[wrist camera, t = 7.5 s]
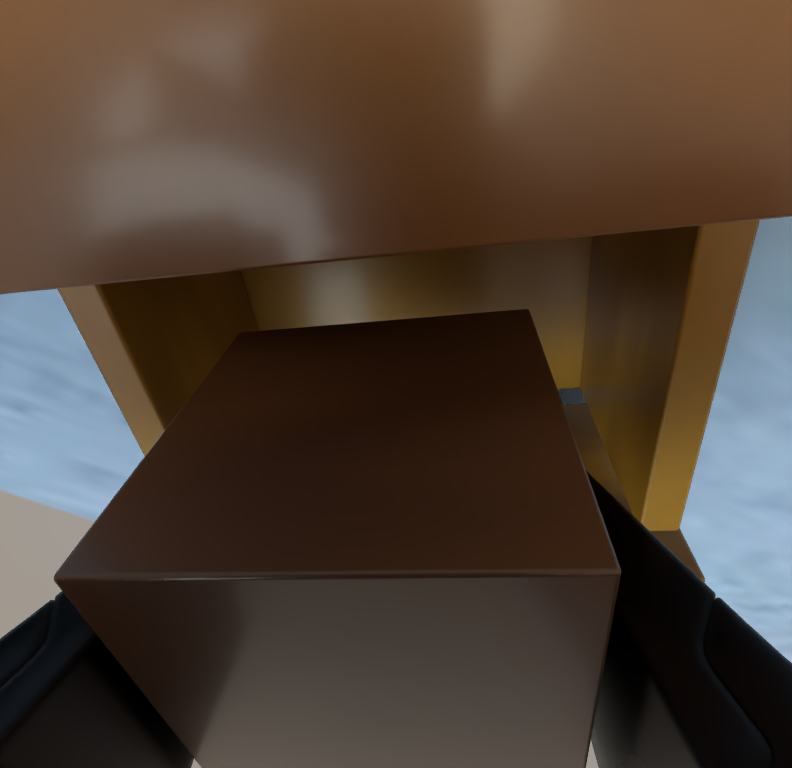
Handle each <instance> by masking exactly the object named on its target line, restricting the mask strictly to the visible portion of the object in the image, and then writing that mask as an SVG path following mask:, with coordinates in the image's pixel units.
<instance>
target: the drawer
mask: <svg viewBox="0 0 792 768" xmlns="http://www.w3.org/2000/svg"><path fill="white" fill-rule="evenodd" d="M758 224H759V220H750V221H740V222H730V223H720V224H709V225H699V226H689V227H679V228H669V229H659V230H648V231H638V232H628V233H618V234H608V235H597V236H587V237H577V238H567V239H557V240H547V241H536V242H526V243H516V244H506V245H496V246H485V247H475V248H465V249H455V250H445V251H435V252H424V253H414V254H404V255H394V256H384V257H373V258H363V259H353V260H343V261H333V262H323V263H312V264H302V265H292V266H282V267H272V268H261V269H251V270H241V271H231V272H221V273H211V274H200V275H190V276H180V277H170V278H160V279H149V280H139V281H129V282H119V283H109V284H99V285H88V286H78V287H68V288H58V290H59V292H60V294H61V296H62V298H63V300H64V302H65V304H66V306H67V308H68V310H69V312H70V314H71V315H72V317H73V319H74V321H75V323H76V325H77V327H78V329H79V331H80V333H81V335H82V337H83V339H84V340H85V342H86V344H87V346H88V348H89V350H90V352H91V354H92V356H93V358H94V360H95V362H96V363H97V365H98V367H99V369H100V371H101V373H102V375H103V377H104V379H105V381H106V383H107V385H108V387H109V388H110V390H111V392H112V394H113V396H114V398H115V400H116V402H117V404H118V406H119V408H120V410H121V412H122V413H123V415H124V417H125V419H126V421H127V423H128V425H129V427H130V429H131V431H132V433H133V435H134V437H135V438H136V440H137V442H138V444H139V446H140V448H141V450H142V452H143V454H144V456H146V454H147V453H148V452H149V451H150V449H151V448H152V447H153V445H154V444H155V443H156V441H157V440H158V439H159V437H160V436H161V435H162V433H163V432H164V431H165V430H166V428H167V427H168V426H169V424H170V423H171V422H172V420H173V419H174V418H175V416H176V415H177V414H178V413H179V411H180V410H181V409H182V407H183V406H184V405H185V403H186V402H187V401H188V399H189V398H190V397H191V396H192V394H193V393H194V392H195V390H196V389H197V388H198V386H199V385H200V384H201V382H202V381H203V380H204V379H205V377H206V376H207V375H208V373H209V372H210V371H211V369H212V368H213V367H214V365H215V364H216V363H217V362H218V360H219V359H220V358H221V356H222V355H223V354H224V352H225V351H226V350H227V348H228V347H229V346H230V344H231V343H232V342H233V341H234V339H235V338H236V337H237V335H238V334H239V333H241V332H251V331H264V330H276V329H288V328H300V327H312V326H325V325H337V324H349V323H361V322H373V321H385V320H398V319H410V318H422V317H434V316H446V315H459V314H471V313H483V312H495V311H507V310H520V309H528V310H529V311H530V313H531V316H532V319H533V322H534V324H535V327H536V330H537V333H538V336H539V339H540V341H541V344H542V347H543V350H544V353H545V356H546V359H547V361H548V364H549V367H550V370H551V373H552V376H553V378H554V381H555V384H556V387H557V389H568V388H580V389H581V391H582V394H583V396H584V399H585V401H586V403H582V404H563V407H564V410H565V412H566V415H567V418H568V421H569V424H570V427H571V429H572V432H573V435H574V438H575V441H576V444H577V446H578V449H579V452H580V455H581V458H582V461H583V463H584V466H585V469H586V471H587V472H588V473H589V474H590V475H591V476H592V477H593V478H595V479H596V480H597V481H598V482H599V483H600V484H601V485H602V486H603V487H604V488H605V489H606V490H607V491H608V492H609V493H610V494H611V495H612V496H613V497H614V498H616V499H617V500H618V501H619V502H620V503H621V504H622V505H623V506H624V507H625V508H626V509H627V510H628V511H629V512H630V513H631V514H632V515H633V516H634V517H636V518H637V519H638V520H639V521H640V522H641V523H642V524H643V525H644V526H645V527H646V528H647V529H648V530H649V531H650V532H651V533H652V534H653V535H654V536H655V537H657V538H658V539H659V540H660V541H661V542H662V543H663V544H664V545H665V546H666V547H667V548H668V549H669V550H670V551H671V552H672V553H673V554H674V555H675V556H677V557H678V558H679V559H680V560H681V561H682V562H683V563H684V564H685V565H686V566H687V567H688V568H689V569H690V570H691V571H692V572H693V573H694V574H695V575H697V576H698V577H699V578H700V579H701V580H702V581H703V582H705V578H704V576H703V574H702V572H701V570H700V568H699V566H698V564H697V562H696V560H695V558H694V556H693V554H692V552H691V550H690V548H689V546H688V544H687V542H686V540H685V538H684V536H683V534H682V532H681V530H680V528H679V527H680V523H681V520H682V516H683V512H684V508H685V504H686V500H687V497H688V493H689V489H690V485H691V481H692V477H693V473H694V470H695V466H696V462H697V458H698V454H699V450H700V447H701V443H702V439H703V435H704V431H705V427H706V424H707V420H708V416H709V412H710V408H711V404H712V401H713V397H714V393H715V389H716V385H717V381H718V378H719V374H720V370H721V366H722V362H723V358H724V355H725V351H726V347H727V343H728V339H729V335H730V332H731V328H732V324H733V320H734V316H735V312H736V309H737V305H738V301H739V297H740V293H741V289H742V286H743V282H744V278H745V274H746V270H747V266H748V263H749V259H750V255H751V251H752V247H753V243H754V239H755V236H756V232H757V228H758Z"/></svg>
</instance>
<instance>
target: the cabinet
mask: <svg viewBox="0 0 792 768" xmlns="http://www.w3.org/2000/svg"><path fill="white" fill-rule="evenodd" d="M791 216H792V0H0V294H7V293H17V292H27V291H37V290H48V289H58V288H68V287H78V286H88V285H99V284H109V283H119V282H129V281H139V280H149V279H160V278H170V277H180V276H190V275H200V274H211V273H221V272H231V271H241V270H251V269H261V268H272V267H282V266H292V265H302V264H312V263H323V262H333V261H343V260H353V259H363V258H373V257H384V256H394V255H404V254H414V253H424V252H435V251H445V250H455V249H465V248H475V247H485V246H496V245H506V244H516V243H526V242H536V241H547V240H557V239H567V238H577V237H587V236H597V235H608V234H618V233H628V232H638V231H648V230H659V229H669V228H679V227H689V226H699V225H709V224H720V223H730V222H740V221H750V220H760V219H771V218H781V217H791Z"/></svg>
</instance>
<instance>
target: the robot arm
mask: <svg viewBox="0 0 792 768" xmlns="http://www.w3.org/2000/svg"><path fill="white" fill-rule="evenodd" d="M586 472H587V471H586ZM587 475H588V478H589V481H590V483H591V486H592V489H593V492H594V495H595V498H596V500H597V503H598V506H599V509H600V512H601V515H602V517H603V520H604V523H605V526H606V529H607V532H608V534H609V537H610V540H611V543H612V546H613V549H614V551H615V554H616V557H617V560H618V563H619V566H620V568H621V576H620V582H619V587H618V593H617V598H616V603H615V609H614V614H613V620H612V625H611V631H610V636H609V642H608V647H607V653H606V658H605V664H604V669H603V675H602V680H601V686H600V691H599V697H598V702H597V708H596V713H595V719H594V724H593V730H592V735H591V741H592V744H593V748H594V752H595V755H596V759H597V763H598V766H599V768H792V663H791V662H790V661H789V660H787V659H786V658H785V657H784V656H783V655H782V654H780V653H779V652H778V651H777V650H776V649H775V648H774V647H773V646H772V645H771V644H769V643H768V642H767V641H766V640H765V639H764V638H763V637H762V636H761V635H760V634H758V633H757V632H756V631H755V630H754V629H753V628H752V627H751V626H750V625H749V624H747V623H746V622H745V621H744V620H743V619H742V618H741V617H740V616H739V615H738V614H737V613H736V612H735V611H734V610H733V609H732V608H730V607H729V606H728V605H727V604H726V603H725V602H724V601H723V600H722V599H721V598H715V596H716V595H715V593H714V592H713V591H712V590H711V589H710V588H709V587H708V586H707V585H706V584H705V583H704V582H703V581H702V580H701V579H700V578H699V577H698V576H697V575H695V574H694V573H693V572H692V571H691V570H690V569H689V568H688V567H687V566H686V565H685V564H684V563H683V562H682V561H681V560H680V559H679V558H678V557H677V556H675V555H674V554H673V553H672V552H671V551H670V550H669V549H668V548H667V547H666V546H665V545H664V544H663V543H662V542H661V541H660V540H659V539H658V538H657V537H655V536H654V535H653V534H652V533H651V532H650V531H649V530H648V529H647V528H646V527H645V526H644V525H643V524H642V523H641V522H640V521H639V520H638V519H637V518H636V517H634V516H633V515H632V514H631V513H630V512H629V511H628V510H627V509H626V508H625V507H624V506H623V505H622V504H621V503H620V502H619V501H618V500H617V499H616V498H614V497H613V496H612V495H611V494H610V493H609V492H608V491H607V490H606V489H605V488H604V487H603V486H602V485H601V484H600V483H599V482H598V481H597V480H596V479H595V478H593V477H592V476H591V475H590V474H589V473H588V472H587ZM193 759H194V757H193V756H192V755H191V753H190V752H189V751H188V750H187V748H186V747H185V746H184V745H183V743H182V742H181V741H180V739H179V738H178V737H177V736H176V734H175V733H174V732H173V731H172V729H171V728H170V727H169V726H168V724H167V723H166V722H165V720H164V719H163V718H162V717H161V715H160V714H159V713H158V712H157V710H156V709H155V708H154V707H153V705H152V704H151V703H150V702H149V700H148V699H147V698H146V696H145V695H144V694H143V693H142V691H141V690H140V689H139V688H138V686H137V685H136V684H135V683H134V681H133V680H132V679H131V677H130V676H129V675H128V674H127V672H126V671H125V670H124V669H123V667H122V666H121V665H120V664H119V662H118V661H117V660H116V658H115V657H114V656H113V655H112V653H111V652H110V651H109V650H108V648H107V647H106V646H105V645H104V643H103V642H102V641H101V639H100V638H99V637H98V636H97V634H96V633H95V632H94V631H93V629H92V628H91V627H90V626H89V624H88V623H87V622H86V621H85V619H84V618H83V617H82V615H81V614H80V613H79V612H78V610H77V609H76V608H75V607H74V605H73V604H72V603H71V602H70V600H69V599H68V598H67V596H66V595H65V594H64V593H63V591H62V592H61V593H59V594H58V595H57V596H56V597H55V600H50V601H49V602H48V603H46V604H45V605H44V606H43V607H41V608H40V609H39V610H37V611H36V612H35V613H33V614H32V615H31V616H30V617H28V618H27V619H26V620H24V621H23V622H22V623H21V624H19V625H18V626H16V627H15V628H14V629H12V630H11V631H10V632H8V633H7V634H6V635H5V636H3V637H2V638H1V639H0V768H191V766H192V763H193Z"/></svg>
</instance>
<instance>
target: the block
mask: <svg viewBox="0 0 792 768" xmlns="http://www.w3.org/2000/svg"><path fill="white" fill-rule="evenodd" d="M620 576H621V568H620V566H619V563H618V560H617V557H616V554H615V551H614V549H613V546H612V543H611V540H610V537H609V534H608V532H607V529H606V526H605V523H604V520H603V517H602V515H601V512H600V509H599V506H598V503H597V500H596V498H595V495H594V492H593V489H592V486H591V483H590V481H589V478H588V475H587V472H586V469H585V466H584V463H583V461H582V458H581V455H580V452H579V449H578V446H577V444H576V441H575V438H574V435H573V432H572V429H571V427H570V424H569V421H568V418H567V415H566V412H565V410H564V407H563V404H562V401H561V398H560V395H559V393H558V390H557V387H556V384H555V381H554V378H553V376H552V373H551V370H550V367H549V364H548V361H547V359H546V356H545V353H544V350H543V347H542V344H541V341H540V339H539V336H538V333H537V330H536V327H535V324H534V322H533V319H532V316H531V313H530V311H529V310H528V309H520V310H507V311H495V312H483V313H471V314H459V315H446V316H434V317H422V318H410V319H398V320H385V321H373V322H361V323H349V324H337V325H325V326H312V327H300V328H288V329H276V330H264V331H251V332H241V333H239V334H238V335H237V337H236V338H235V339H234V341H233V342H232V343H231V344H230V346H229V347H228V348H227V350H226V351H225V352H224V354H223V355H222V356H221V358H220V359H219V360H218V362H217V363H216V364H215V365H214V367H213V368H212V369H211V371H210V372H209V373H208V375H207V376H206V377H205V379H204V380H203V381H202V382H201V384H200V385H199V386H198V388H197V389H196V390H195V392H194V393H193V394H192V396H191V397H190V398H189V399H188V401H187V402H186V403H185V405H184V406H183V407H182V409H181V410H180V411H179V413H178V414H177V415H176V416H175V418H174V419H173V420H172V422H171V423H170V424H169V426H168V427H167V428H166V430H165V431H164V432H163V433H162V435H161V436H160V437H159V439H158V440H157V441H156V443H155V444H154V445H153V447H152V448H151V449H150V451H149V452H148V453H147V454H146V456H145V457H144V458H143V460H142V461H141V462H140V464H139V465H138V466H137V468H136V469H135V470H134V471H133V473H132V474H131V475H130V477H129V478H128V479H127V481H126V482H125V483H124V485H123V486H122V487H121V488H120V490H119V491H118V492H117V494H116V495H115V496H114V498H113V499H112V500H111V502H110V503H109V504H108V505H107V507H106V508H105V509H104V511H103V512H102V513H101V515H100V516H99V517H98V519H97V520H96V521H95V522H94V524H93V525H92V527H91V528H90V529H89V530H88V532H87V533H86V534H85V536H84V537H83V538H82V540H81V541H80V542H79V544H78V545H77V546H76V547H75V549H74V550H73V551H72V553H71V554H70V555H69V557H68V558H67V559H66V561H65V562H64V563H63V565H62V566H61V567H60V569H59V570H58V571H57V572H56V574H55V576H54V581H55V583H56V584H57V585H58V586H59V588H60V589H61V590H62V591H63V593H64V594H65V595H66V596H67V598H68V599H69V600H70V602H71V603H72V604H73V605H74V607H75V608H76V609H77V610H78V612H79V613H80V614H81V615H82V617H83V618H84V619H85V621H86V622H87V623H88V624H89V626H90V627H91V628H92V629H93V631H94V632H95V633H96V634H97V636H98V637H99V638H100V639H101V641H102V642H103V643H104V645H105V646H106V647H107V648H108V650H109V651H110V652H111V653H112V655H113V656H114V657H115V658H116V660H117V661H118V662H119V664H120V665H121V666H122V667H123V669H124V670H125V671H126V672H127V674H128V675H129V676H130V677H131V679H132V680H133V681H134V683H135V684H136V685H137V686H138V688H139V689H140V690H141V691H142V693H143V694H144V695H145V696H146V698H147V699H148V700H149V702H150V703H151V704H152V705H153V707H154V708H155V709H156V710H157V712H158V713H159V714H160V715H161V717H162V718H163V719H164V720H165V722H166V723H167V724H168V726H169V727H170V728H171V729H172V731H173V732H174V733H175V734H176V736H177V737H178V738H179V739H180V741H181V742H182V743H183V745H184V746H185V747H186V748H187V750H188V751H189V752H190V753H191V755H192V756H193V757H194V758H195V760H196V761H197V762H198V763H199V765H200V766H201V767H202V768H586V762H587V757H588V751H589V746H590V740H591V735H592V730H593V724H594V719H595V713H596V708H597V702H598V697H599V691H600V686H601V680H602V675H603V669H604V664H605V658H606V653H607V647H608V642H609V636H610V631H611V625H612V620H613V614H614V609H615V603H616V598H617V593H618V587H619V582H620Z"/></svg>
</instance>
